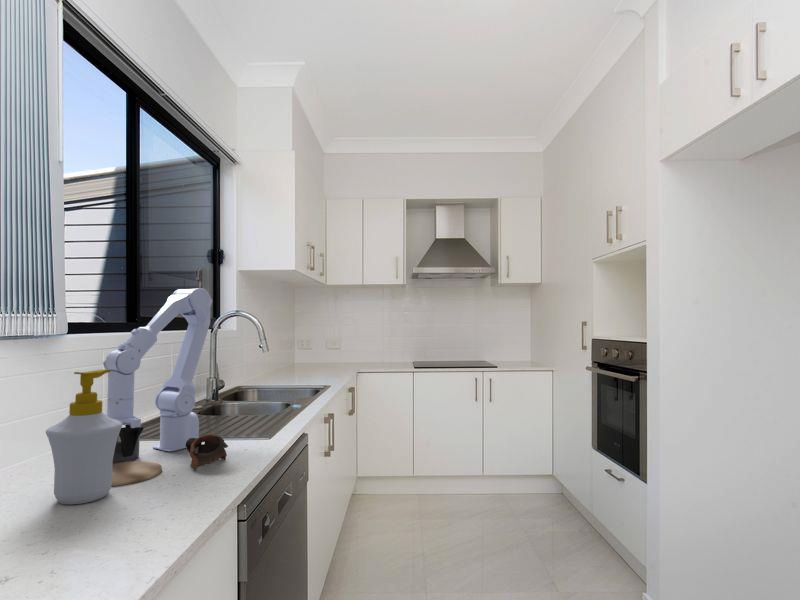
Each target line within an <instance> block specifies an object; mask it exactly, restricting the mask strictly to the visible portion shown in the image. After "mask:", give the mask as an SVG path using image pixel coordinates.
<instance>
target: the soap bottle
mask: <svg viewBox="0 0 800 600" xmlns="http://www.w3.org/2000/svg"><path fill="white" fill-rule="evenodd" d="M110 371H111V370H106V369H105V368H104V369H96V370H89V371H84V372H81V371H80V372H78V371H77V372H76V371H74V373H73V375H80V380H79V381H80V383H79V385H80V386H81V392H77V393H76V394H75V401H73V402H72V401H71V402H69V412H68V413H69V414H68V416H67V417H65V418H64V419H63V420H61V421H60V422H58V423H56V424H54V425H51V426H50V427H49V428H47V429H46V430H45V434H46V437H47V439H48V441H49V445H50V448H51V452H52V459H53V465H54V466H53V467H54V477H53V479H54V480H53V494H54V497H55V499H56V501H58V503H59V504H61V505H62V504H63V505H80V504H87V503H90V502H91V503H93V502H94V501H97V500H100V499H103V498H105V497H106V496H108V493H109V492H110V491H111V488H112V486H111V485H112V465H113V456H114V450H115V446H116V442H117V438H119V433H120V430H121V428H123V426H124V425H123V423H122V422H120V421H118V420H115V419H112V418H110V417H108V416H106V415H105V413H104V412H103V401H102V400H101V399H98V393H97V392H95V391H92V387H93V385H94V379H98V378H100V377H102V376H103V375H105V374H108V372H110Z"/></svg>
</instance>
